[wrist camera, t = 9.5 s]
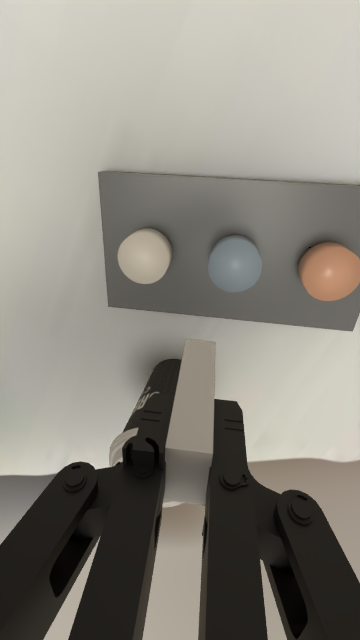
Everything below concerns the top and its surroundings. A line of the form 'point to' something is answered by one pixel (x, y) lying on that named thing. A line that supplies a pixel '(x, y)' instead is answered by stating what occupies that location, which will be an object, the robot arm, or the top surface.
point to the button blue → (234, 263)
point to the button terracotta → (329, 271)
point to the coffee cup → (159, 382)
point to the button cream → (145, 256)
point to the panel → (221, 221)
